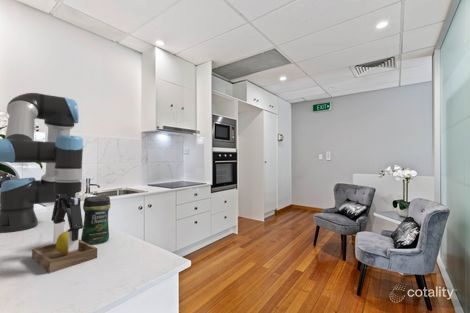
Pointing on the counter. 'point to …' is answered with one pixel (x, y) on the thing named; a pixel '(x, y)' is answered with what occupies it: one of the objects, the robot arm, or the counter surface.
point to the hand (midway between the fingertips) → (65, 246)
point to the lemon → (62, 243)
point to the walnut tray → (62, 256)
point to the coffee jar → (96, 220)
